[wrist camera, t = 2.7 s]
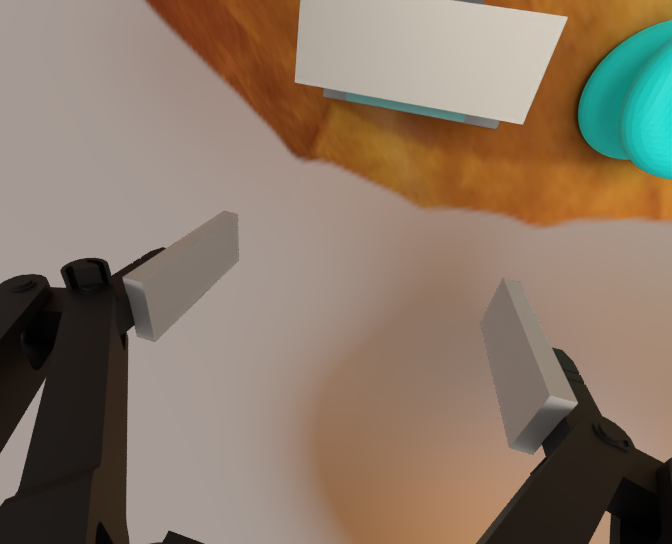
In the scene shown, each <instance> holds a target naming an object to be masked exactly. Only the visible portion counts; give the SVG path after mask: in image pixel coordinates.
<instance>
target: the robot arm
mask: <svg viewBox="0 0 672 544" xmlns="http://www.w3.org/2000/svg"><path fill="white" fill-rule="evenodd" d="M238 251H239V249H238V214H235V213H231V212H227V211H223V212H221V213H220V214H218V215H217V216H215V217H214V218H212V219H211V220H209V221H208V222H206V223H205V224H203V225H202V226H200V227H199V228H197V229H195V230H194V231H192V232H191V233H189V234H188V235H186V236H185V237H183V238H182V239H181V240H179V241H177V242H175V243H174V244H172V245H171V246H169V247H168V248H163V247H162V248H160V249H156V250H153V251H150V252H149V253H147V254H145V255H144V256H142V257H141V259H137V260H136V261H134V262H133V264H132V263H131V264H130V265H128V266H126V267H125V268H123V269H122V270H120V271H118V272H117V273H115V274H114V275H112V276H111V273H110V269H109V265H108V263H107V261H105V260H103V259H98V258H85V259H79V260H75V261H73V262H70V263H68V264H66V265H65V266H64V267H62V269H61V270H60V271H61V274H62V277H63V279H64V282H65V285H66V288H56V287H55V288H54V287H50V285H49V282H48V280H47V278H46V277H44V276H42V275H36V274H29V275H20V276H16V277H13V278H11V279H8V280H6V281H4V282H2V283H1V284H0V453H1V451H2V450H3V448H4V446H5V445H6V443H7V441H8V440H9V438H10V436H11V435H12V433H13V431H14V430H15V428H16V426H17V424H18V423H19V421H20V420H21V418H22V416H23V415H24V413H25V411H26V410H27V408H28V406H29V405H30V403H31V401H32V400H33V398H34V397H35V395H36V393H37V391H38V390H39V388H40V386H41V385H42V383H43V382H44V380H45V378H46V381H45V385H44V389H43V393H42V397H41V402H40V405H39V409H38V413H37V417H36V421H35V425H34V429H33V434H32V438H31V442H30V446H29V450H28V454H27V458H26V462H25V466H24V470H23V474H22V478H21V482H20V486H19V489H18V491H17V493H16V494H15V496H13V497H10V498H8V499H6V500H5V501H4V502H3V503H2V505H1V506H0V544H129V536H128V530H127V522H126V476H127V475H126V474H127V469H126V468H127V399H128V398H127V397H128V396H127V395H128V394H127V393H128V335H127V331H128V330H129V329H130V328H131V327H133V326H135V329H136V333H137V336H138V337H140V338H144V339H147V340H150V341H154V342H156V341H157V340H158V339H159V338H160V337H161V336H162V335H163V334H164V333H165V332H166V331H167V330H168V329H169V328H170V327H171V326H172V325H173V324H174V323H175V322H176V321H177V320H178V319H179V318H180V317H181V316H182V315H183V314H184V313H185V312H186V311H187V310H188V309H189V308H190V307H192V305H194V304H195V303H196V302H197V301H198V300H199V299H200V298H201V297H202V296H203V295H204V294H205V293H206V292H207V291H208V290H209V289H210V288H211V287H212V286H213V285H214V284H215V283H216V282H217V281H218V280H219V279H220V278H221V277H222V276H223V275H224V274H225V273H226V272H227V271H228V270H229V269H231V267H233V266H234V264H236V263H237V262H238V261H239V252H238ZM480 324H481V329H482V333H483V337H484V342H485V346H486V350H487V355H488V359H489V363H490V367H491V372H492V376H493V381H494V385H495V389H496V394H497V397H498V402H499V406H500V411H501V415H502V419H503V423H504V428H505V432H506V437H507V441H508V445H509V448H512V449H515V450H519V451H522V452H526V453H529V454H532V455H533V454H534V453H535V452H536V451H537V449H538V448H539V447H540V446H541V445H542V446H543V449H544V452H545V455H546V457H545V458H544V459H543V460H542V462H541V463H540V464H539V465H538V466H537V467H536V468H535V469H534V470H533V471H532V472H531V473H530V477H529V478H528V479H527V480H526V482H525V483H524V484H523V485H522V486H521V488H520V489H519V490H518V492H517V493H516V494H515V495H514V497H513V498H512V499H511V500H510V502H509V503H508V504H507V505H506V507H505V508H504V509H503V510H502V512H501V513H500V514H499V516H498V517H497V518H496V519H495V520H494V522H493V523H492V524H491V526H490V527H489V528H488V529H487V530H486V532H485V533H484V534H483V535H482V537H481V538H480V539H479V541H478V542H477V543H476V544H589V542H590V540H591V538H592V536H593V534H594V532H595V530H596V528H597V526H598V524H599V522H600V520H601V518H602V516H603V514H604V512H605V511H608V512H609V513H611V525H610V544H672V458H670V459H669V460H668V461H666V462H665V463H663V462H661V461H659V460H657V459H655V458H653V457H651V456H649V455H647V454H646V453H643V452H641V451H640V450H638V449H636V448H635V447H634V444H633V442H632V441H631V439H630V437H629V436H628V435H627V434H626V433H625V431H623V430H622V429H621V428H620V427H619V426H617V425H616V424H615V423H614V422H612V421H610V420H609V419H607V418H605V417H603V416H602V415H601V413H600V411H599V409H598V407H597V406H596V404H595V402H594V400H593V398H592V396H591V394H590V392H589V390H588V388H587V387H586V385H584V381H583V379H582V377H581V375H579V371H578V370H577V368H576V366H575V364H574V362H573V361H572V360H571V359H570V358H569V357H568V356H567V355H566V354H565V352H563V350H560V349H556V348H552V347H551V345H550V343H549V341H548V339H547V337H546V335H545V333H544V330H543V328H542V327H541V324H540V322H539V320H538V318H537V316H536V314H535V312H534V310H533V307H532V305H531V303H530V301H529V299H528V297H527V295H526V293H525V291H524V289H523V287H522V284H521V283H520V282H519V281H515V280H511V279H507V278H503V279H502V281H501V283H500V285H499V287H498V289H497V291H496V292H495V295H494V297H493V298H492V300H491V302H490V304H489V306H488V308H487V310H486V312H485V314H484V316H483V318H482V320H481V322H480ZM151 544H204V543H201V542H198V541H196V540H193V539H190V538H188V537H185V536H182V535H180V534H177V533H174V532H171V531H168V533H167V535H166V537H165V539H164V540H163V542H159V543H151Z"/></svg>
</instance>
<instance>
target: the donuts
mask: <svg viewBox="0 0 672 544" xmlns="http://www.w3.org/2000/svg"><path fill="white" fill-rule="evenodd" d="M578 122H579V127H580V130H581V133H582V135H583V137H584V139H585V140H586V142H587V143H588V144H589V145H590V146H591V147H592V148H593V149H594V150H596V151H597V152H599V153H601V154H603V155H605V156H608V157H611V158H615V159H623V160H630V161H631V162H632V163H633V164H634V165H636V166H637V167H638V168H640V169H641V170H643V171H645V172H647V173H649V174H651V175H654V176H657V177H661V178H665V179H672V20H670V21H666V22H662V23H659V24H656V25H653V26H650V27H648V28H646V29H644V30H642V31H640V32H638V33H636V34H634V35H633V36H631V37H630V38H628V39H627V40H625V41H624V42H622V43H621V44H620V45H618V46H617V47H616V48H615V49H614V50H612V51H611V52H610V53H609V54H608V55H607V56H606V57H605V58H604V59H603V60H602V62H601V63H600V64H599V65H598V66H597V68H596V69H595V70H594V72H593V73H592V75H591V76H590V78H589V80H588V81H587V83H586V85H585V88H584V90H583V92H582V95H581V98H580V102H579V108H578Z"/></svg>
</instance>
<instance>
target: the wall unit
mask: <svg viewBox="0 0 672 544" xmlns="http://www.w3.org/2000/svg"><path fill="white" fill-rule="evenodd" d="M483 3H484V0H300V12H299V27H298V41H297V56H296V70H295V83H300V84H306V85H311V86H317V87H322V88H324V91H323V97H328V98H333V99H339V100H344V101H349V102H355V103H360V104H365V105H371V106H376V107H381V108H386V109H392V110H397V111H402V112H408V113H413V114H418V115H424V116H429V117H434V118H440V119H445V120H450V121H455V122H461V123H466V124H471V125H477V126H482V127H487V128H493V129H497V127H498V124H499V122H500V121H506V122H511V123H517V124H522V125H523V123H524V120H525V118H526V116H527V113H528V111H529V108H530V106H531V104H532V101H533V99H534V97H535V94H536V92H537V89H538V87H539V85H540V82H541V80H542V78H543V75H544V73H545V70H546V68H547V66H548V63H549V61H550V59H551V56H552V54H553V51H554V49H555V47H556V44H557V42H558V40H559V37H560V35H561V32H562V30H563V28H564V25H565V23H566V21H567V18H568V17H565V16H558V15H551V14H544V13H537V12H530V11H523V10H516V9H509V8H503V7H496V6H489V5H483Z"/></svg>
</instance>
